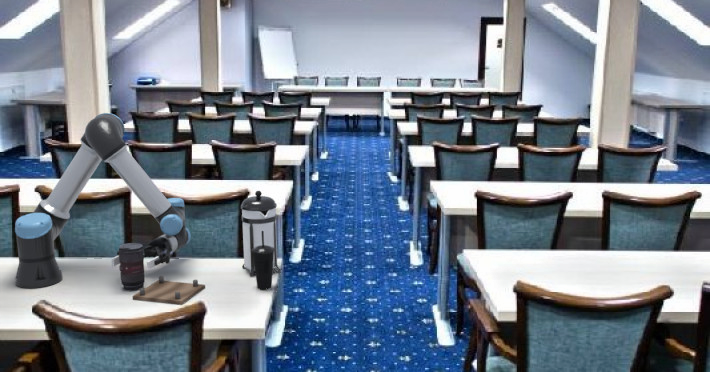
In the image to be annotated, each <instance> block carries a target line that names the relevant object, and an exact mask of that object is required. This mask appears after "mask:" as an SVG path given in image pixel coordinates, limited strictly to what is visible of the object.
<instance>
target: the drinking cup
mask: <svg viewBox="0 0 710 372" xmlns="http://www.w3.org/2000/svg"><path fill="white" fill-rule="evenodd" d="M274 250H275V249H274V248H273V247H270V246H267V245H264V231H262V245H260V246H257V247H255V248H253V249H252V252H253V258H254V266H255V278H256V279H255V281H256V287H257V289H258V290H260V291H266V290H267V291H268V290H269V289H271V288H272V284H273V283H272V281H273V272H274V270H273V255H274Z"/></svg>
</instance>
